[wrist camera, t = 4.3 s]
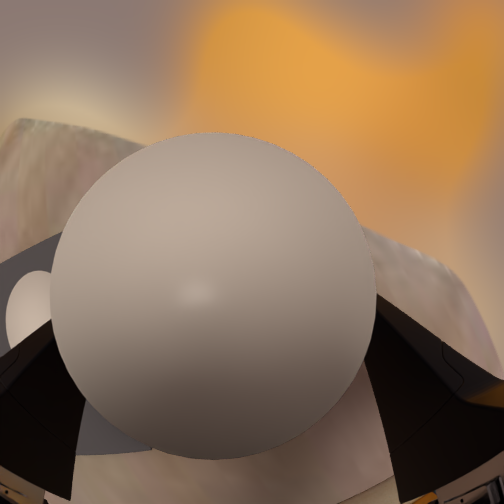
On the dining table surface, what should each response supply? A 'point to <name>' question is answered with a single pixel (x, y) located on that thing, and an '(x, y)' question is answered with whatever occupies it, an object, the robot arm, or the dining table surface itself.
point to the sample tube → (213, 296)
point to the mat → (34, 316)
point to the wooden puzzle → (386, 495)
